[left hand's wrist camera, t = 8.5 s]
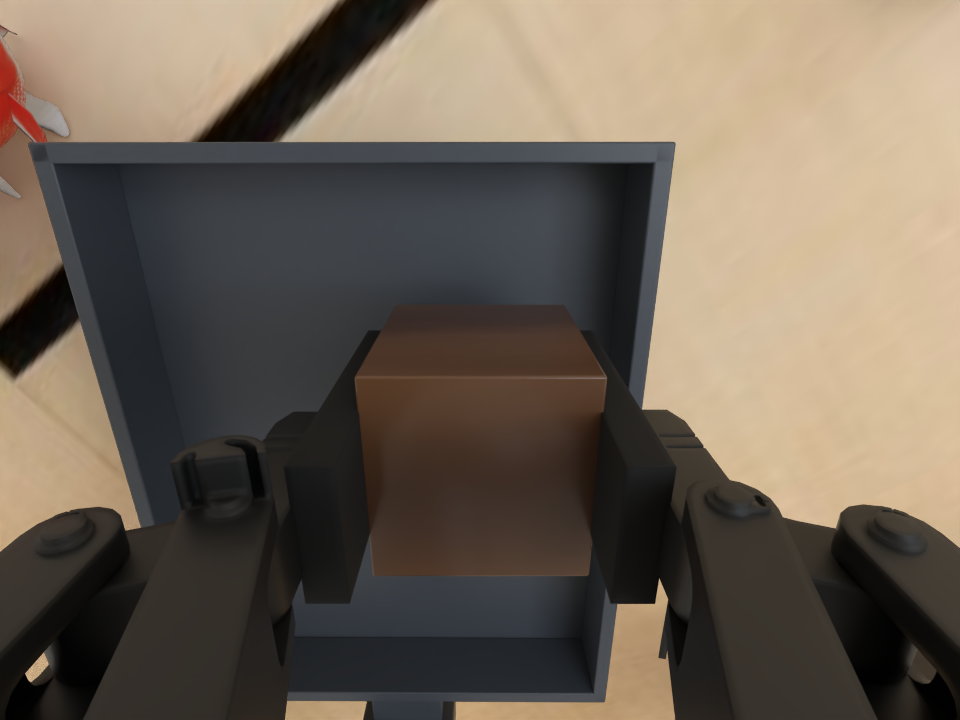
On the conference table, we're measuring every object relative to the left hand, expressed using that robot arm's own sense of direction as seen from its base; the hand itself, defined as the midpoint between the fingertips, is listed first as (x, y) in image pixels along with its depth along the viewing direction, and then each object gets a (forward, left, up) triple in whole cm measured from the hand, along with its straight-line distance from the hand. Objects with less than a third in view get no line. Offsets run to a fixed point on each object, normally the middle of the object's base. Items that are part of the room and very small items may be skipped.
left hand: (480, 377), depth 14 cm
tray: (+7, -3, -4) cm, 8 cm away
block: (0, 0, 0) cm, 0 cm away
